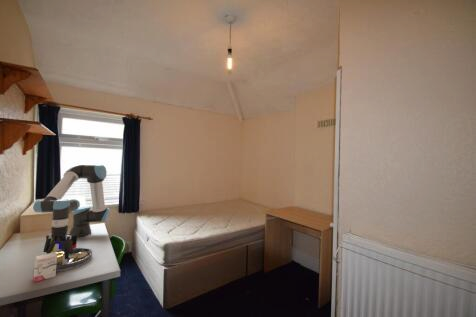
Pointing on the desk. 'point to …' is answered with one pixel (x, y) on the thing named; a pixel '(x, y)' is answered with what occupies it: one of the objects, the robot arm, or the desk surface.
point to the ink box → (45, 266)
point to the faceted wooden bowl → (59, 258)
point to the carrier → (75, 259)
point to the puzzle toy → (58, 245)
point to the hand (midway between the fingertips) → (57, 264)
